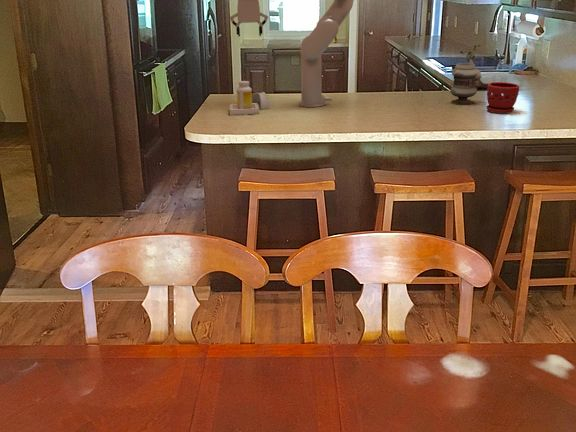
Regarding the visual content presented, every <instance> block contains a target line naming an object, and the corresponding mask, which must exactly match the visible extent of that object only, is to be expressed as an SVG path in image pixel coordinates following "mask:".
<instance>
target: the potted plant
mask: <svg viewBox="0 0 576 432" xmlns="http://www.w3.org/2000/svg"><path fill="white" fill-rule="evenodd" d="M472 47H473V51H468V53H467V54H466V51H464V52H463V50H461V51H459V54H462V57H464V56H466V57H467V58H466V60H467V61H468V63H473V64H475V62H477V61H479V59H475V57H476V55H474V54H475V53H476V50H479V49H480V48H481V47H482V45H481V44H475V45H474V46H472ZM455 67H456V65H453V64H451V69H452V70H451V72H452V71H453V70H454V69H455ZM477 70H478V75H477V76H476V77H475V87H476V89H477V90H478V89H479V88H484V89H487V87H488V84H489V83H490V82H489V83H484V82H482V81H481V79H482V77H483V76H482V73H481V69H477Z"/></svg>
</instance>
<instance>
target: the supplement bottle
mask: <svg viewBox="0 0 576 432" xmlns="http://www.w3.org/2000/svg"><path fill="white" fill-rule="evenodd" d="M252 91H253V90H252V88H251V87H250V81H249V80H240V81H238V87H237V88H236V98H237V99H236V101H237V102H236V103H237V105H238V109H252V94H253V93H252Z"/></svg>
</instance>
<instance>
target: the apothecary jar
mask: <svg viewBox="0 0 576 432" xmlns="http://www.w3.org/2000/svg"><path fill="white" fill-rule="evenodd" d="M455 66H456V67H455V69H454V70H453V71H452V70H451V75H452V76H453V86H452V87H451V88H450V91H449V92H450V94H451V95H452V96H454V97H456V99H453V100H452V101H451V103H452V104H454V105H461V106H464V105H467V106H468V105H473V104H474V101H473V100H470V99H468V98H472V97H473V96H475V95H476V94H477V92H478V89H476V87H475V77H476V76H477V75H478V70H479V69H477V68H476V64H475V63H470V62H461V63H459V62H458V63H456V64H455Z"/></svg>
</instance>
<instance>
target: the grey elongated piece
mask: <svg viewBox="0 0 576 432" xmlns="http://www.w3.org/2000/svg"><path fill="white" fill-rule="evenodd" d="M252 103H260V104H259V105H260V107H259V110H267V109H266V108H269V109H271V103H270V101H269V97H268V94H266V92H265V91H262V92H253V93H252Z"/></svg>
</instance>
